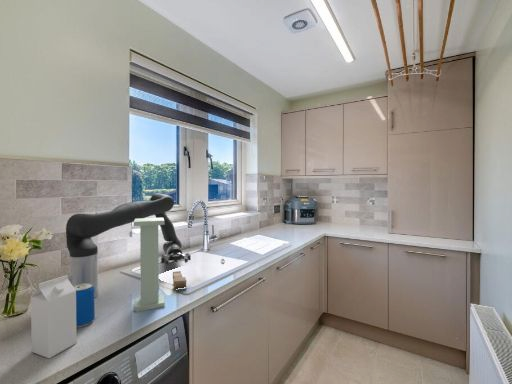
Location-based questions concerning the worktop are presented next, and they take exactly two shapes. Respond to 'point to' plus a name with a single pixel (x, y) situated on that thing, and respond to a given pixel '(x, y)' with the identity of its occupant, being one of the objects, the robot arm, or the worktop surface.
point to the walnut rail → (178, 280)
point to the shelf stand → (149, 264)
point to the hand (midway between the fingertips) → (177, 261)
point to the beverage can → (84, 304)
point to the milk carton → (53, 317)
